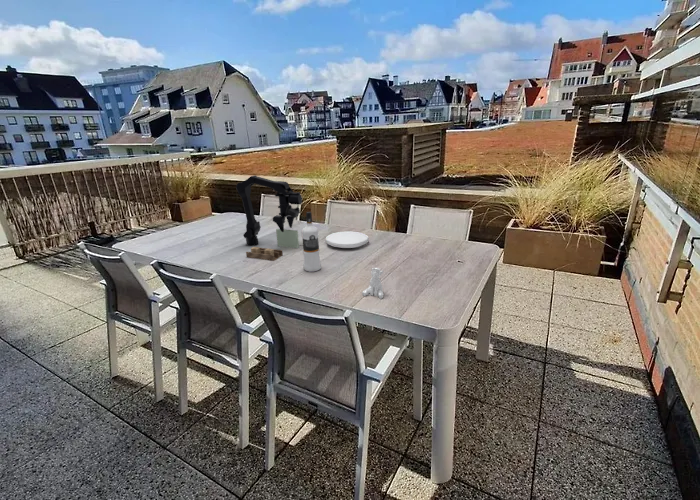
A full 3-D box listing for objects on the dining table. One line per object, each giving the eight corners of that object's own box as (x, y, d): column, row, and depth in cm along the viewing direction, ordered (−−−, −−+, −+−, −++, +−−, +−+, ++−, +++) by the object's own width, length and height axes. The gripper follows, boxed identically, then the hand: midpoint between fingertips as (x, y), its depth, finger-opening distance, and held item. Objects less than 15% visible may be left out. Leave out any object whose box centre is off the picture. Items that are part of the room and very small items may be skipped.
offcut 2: (265, 258, 193) (264, 250, 191) (268, 256, 195) (267, 248, 194) (271, 259, 191) (270, 250, 190) (274, 257, 194) (273, 249, 192)
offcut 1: (251, 256, 196) (250, 248, 194) (255, 255, 198) (254, 246, 197) (257, 257, 194) (256, 249, 193) (260, 255, 197) (259, 247, 195)
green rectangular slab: (277, 246, 213) (276, 229, 209) (279, 245, 214) (277, 228, 211) (297, 248, 208) (296, 231, 204) (299, 248, 209) (297, 230, 206)
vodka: (320, 264, 185) (316, 209, 175) (322, 271, 177) (319, 213, 167) (302, 266, 183) (298, 210, 173) (304, 273, 175) (300, 215, 165)
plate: (331, 229, 231) (371, 230, 226) (332, 238, 233) (371, 240, 227) (320, 237, 204) (364, 239, 199) (320, 248, 206) (364, 250, 201)
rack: (246, 258, 196) (246, 252, 195) (256, 253, 204) (255, 247, 202) (274, 262, 190) (273, 255, 188) (282, 256, 197) (282, 250, 196)
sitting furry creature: (361, 296, 150) (360, 270, 146) (367, 287, 158) (367, 263, 154) (382, 299, 147) (382, 273, 143) (387, 290, 155) (388, 265, 150)
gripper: (288, 208, 191) (290, 235, 196) (304, 201, 207) (306, 226, 213) (270, 207, 195) (273, 233, 200) (288, 200, 211) (290, 225, 217)
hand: (286, 229), depth 207 cm, fingers open, 9 cm apart
